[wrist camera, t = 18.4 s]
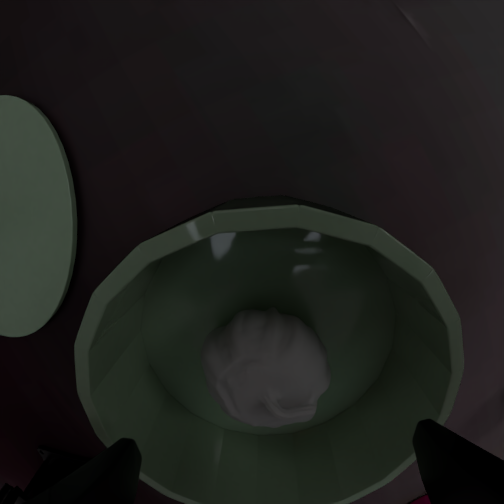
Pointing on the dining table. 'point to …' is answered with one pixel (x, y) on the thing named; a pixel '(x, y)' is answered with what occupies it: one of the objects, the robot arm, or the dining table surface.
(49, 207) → the lid
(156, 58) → the dining table surface
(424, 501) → the pepper mill
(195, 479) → the squat sage green cylinder
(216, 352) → the garlic
